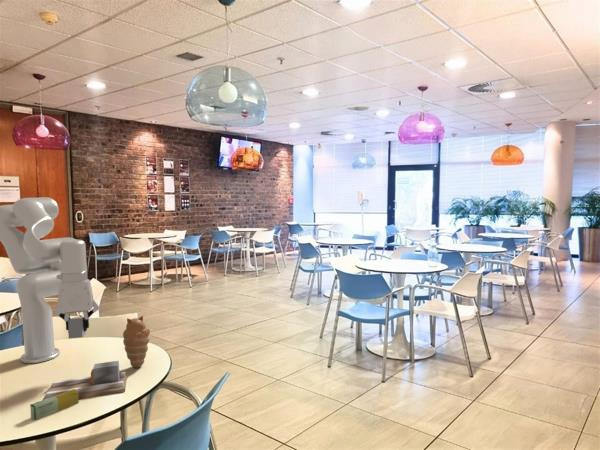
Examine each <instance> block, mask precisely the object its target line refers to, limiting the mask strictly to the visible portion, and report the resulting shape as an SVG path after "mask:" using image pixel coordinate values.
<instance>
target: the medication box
mask: <svg viewBox="0 0 600 450" xmlns="http://www.w3.org/2000/svg"><path fill="white" fill-rule="evenodd" d="M79 403H80V401H79V399H78V391H77V390H76V389H72V390H70V391H67V392H64V393H61V394H59V395H56V396H53V397H50V398H47V399H45V400H44V399H42V400H40V401H37V402H34V403H31V404H30V405H29V407H30V419H31V420H33V421H37V420H40V419H42V418H44V417H47V416H49V415H53V414H54V413H57V412H60V411H62V410H64V409H67V408H69V407H71V406H74V405H77V404H79Z"/></svg>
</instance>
